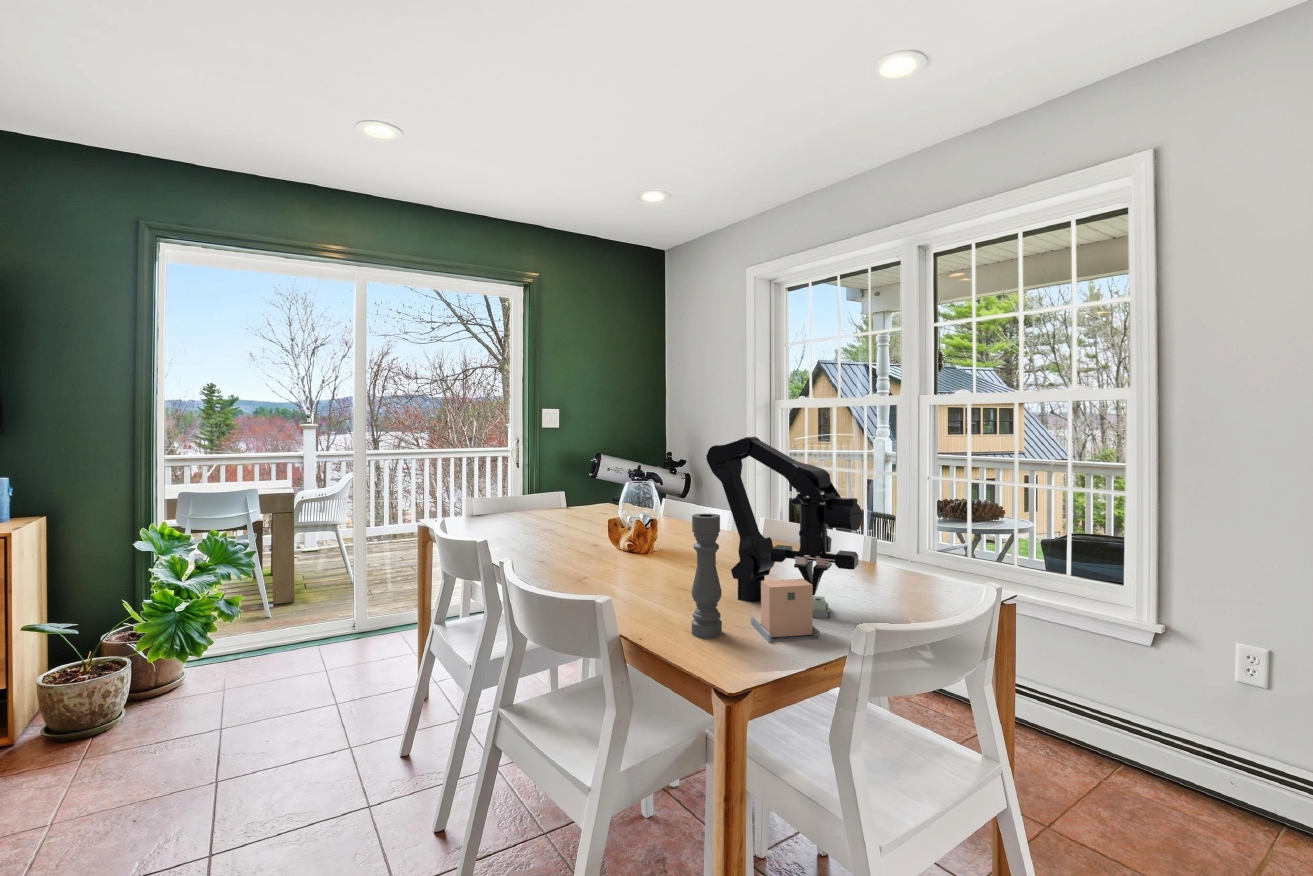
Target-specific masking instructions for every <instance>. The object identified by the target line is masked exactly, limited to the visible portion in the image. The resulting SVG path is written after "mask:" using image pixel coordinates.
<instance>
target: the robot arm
mask: <svg viewBox="0 0 1313 876" xmlns="http://www.w3.org/2000/svg"><path fill="white" fill-rule="evenodd" d="M705 457H706V462H707V464H708V467H709V468H710V470H711V472H712V475H714V476H715V477H716V479H718V480H719V481H720V482H721V484H722V487H723V490H724V494H725V497H726V501H727V503H728V506H729V509H730V512H731V515H732V518H733V521H734V523H735V527H736V530H737V533H738V537H739V545H738V550H737V551H738V552H737V553H738V558H739V561H738V562H737V563H736V564H735V565H734V566H733V567H732V568H731V570H730V572H731V575H732V578H733V579H734V580H737V600H738V601H744V602H749V603H757V602H761V581H765V576H769V575H770V572H771V569H772V568H773V567H774V566H775V563H784V561H785V560H786V559H791V560H792V559H793V560H794V564H793V567H794V568H796V569H798V571H799V572H800V574H801V576H802V579H804V580H806V581H807V582H809V583H810V584H812V585H813V596H816V593H817V591H818V588H819V585H820V582H821V579H822V577H823V574H824V573H825V571H828V570H829V569H830V568H831V567H832V565H833V564H834V565H835V566H836V567H837V568H838V569H840V570H841V569H842V570H843V569H844V570H855V569H856V568H857V567H858V565H859V554H858V553H857V551H850V550H839V551H838V552H836V554H835V553H831V551H832V550H831V549H832V539H833V538H832V537H830V536H829V535H828V528H827V526H828V527H829V528H831V529H837V530H838V529H839V530H845V531H846V530H847V531H854V532H855V531H858V530H859V529H860V527H861V525H862V523H863V512H862V509H861V506H860V504H858V498H856V497H849V498H847V497H841V495H840V494H839V492H838V490H837V489H836V487H835V486H834V484H833V482H832V481H831V476H830V474H829V472H828V471H827V470H826V469H824V468H821V467H818V466H815V465H812V464H809V463H803V462H800V461H797V460H796V459H794V458H792V457H790V456H788V455H787V454H785V453H784V452H782V451H780V450H778V449H776V448H774V447H772V446H771V445H769V444H767V443H766V442H764V441H762V440H761V439H760V438H758V437H757V436H745V437H742V438H741V439H738V440H735V441H732V442H729V443H727V444H719V445H718V444H717V445H715V444H714V445H712V446H711V447H710V448H708V451H707V453H706V456H705ZM748 457H750V458H752V459H754V460H756V461H757V462H759V463H761V464H762V465H763V466H766V467H768V468H769V469H771V471H774V472H776V473H777V474H779V475H780V476H783V477H784V478H785V479H786V480H787V481H788V483H789V485H790V486H791V487H792V488H793V489H795V491H797V492H798V493H797V495H796V496H795V497H794V498H793V499H792V500H791V501H790V503H791V504H793V505H799V531H798V536H799V540H798V541H799V549H798V550H794V548H793V546H792V545H785V544H777V545H775V546H774V545H773V540H772V538H771V537H770V536H769V537H766V538H765V537H764V535H763V534H761V532H760V530H759V526H758V523H757V521H756V518H755V515H754V512H753V508H752V506H751V503H750V500H749V497H748V494H747V491H746V488H745V486H744V483H743V479H742V470H743V460H744V459H746V458H748ZM814 562H815V563H816V564H815V565H813V564H814Z"/></svg>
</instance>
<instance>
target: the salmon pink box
mask: <svg viewBox="0 0 1313 876" xmlns="http://www.w3.org/2000/svg"><path fill="white" fill-rule="evenodd" d="M813 596H814V595H813V585H812V584H810V583H809V582H807V581H806V580H804V578H791V579H789V578H788V579H773V580H772V579H771V580H768V579H767V580H764V581H761V601H760V624H761V625H762V626H763V627H764V628H765V629H766V630H767V631H768V632H769V633H770V634H771V637H784V636H798V635H813V626H814V625H813V623H814V622H813V620H814V618H813Z"/></svg>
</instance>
